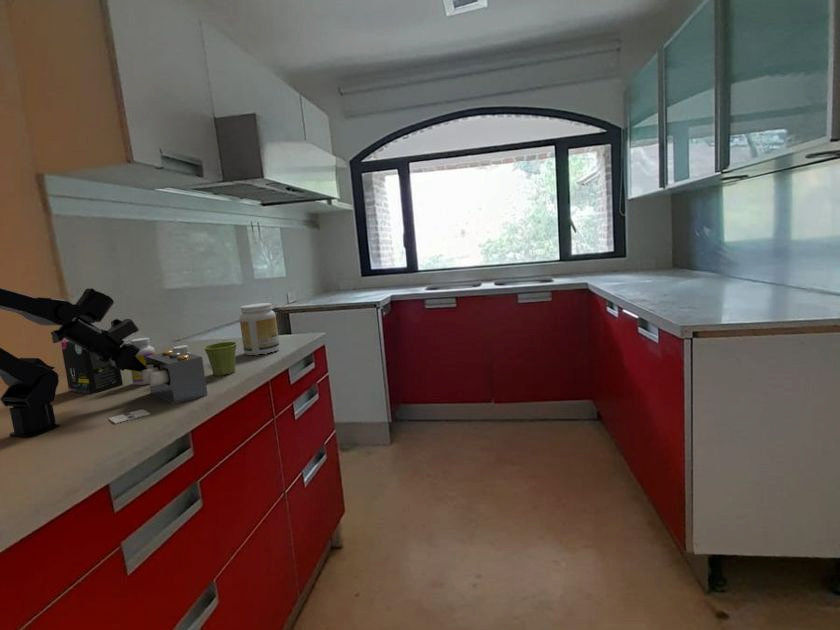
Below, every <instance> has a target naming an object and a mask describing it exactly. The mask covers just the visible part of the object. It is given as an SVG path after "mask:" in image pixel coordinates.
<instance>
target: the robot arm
mask: <svg viewBox="0 0 840 630" xmlns="http://www.w3.org/2000/svg"><path fill="white" fill-rule="evenodd" d="M114 304H115V301H114V300H113V298H112V297H111V296H109V295H106V294H105V293H103V292H100V291H97V290H96V289H94V288H85V290H84V291H83V293H82V295H81V296H80V298H79V299H78V300H77V301H76V303H73V304H72V303H71V302H70V301H69V300H66V299H61V298H60V299H58V298H51V297H38V296H30V295H27V294H24V293H20V292H16V291H13V290H11V289H6V288H3V287H0V310H5V311H7V312H12V313H16V314H18V315H19V316H22V317H23V318H25V319H26V320H28V321H30V322H33V323H35V324H38V325H40V326H59V328H58V329H54V330H52V331H50V335H51V337H52V339H51V340H52V343H53V344H58V343H59V342H60V343H61V341H64V339H65V340H69V341H71V342H72V343H74V344H76V345H78V346H79V347H81V348H82V349H84V350H86V351H88V352H90V353H92V354H94V355H95V356H96V358H97V359H98V360H100V361H102V362H104V363H106V362H108V361H109V360H110V361H111V366H114V367H116V368H118V369H120V371H121V372H122V371H124V370H125V371H126V370H127V371H131V370H133V371H139V372H141V371H142V370H147V369H148V368H147V367H146V366H145V365H143V364H142V363H141V362H140V361H139V360H138V359H137V358H136V357H135V356H136V355H137V353H138V352H139V351H140V348H138V347H136V346H135V345H133V344H131V343H125V340H124V339H126V338H128V337H129V336H131V335H132V334H136V333H137V332H138V331H140V328H139V327H138V326H137V325H136V323H135V322H134V321H133V319H131V318H125V319H123V320H120V319H118V318H115V319H113V320H111V321H110V325H111V327H110V328H109V329H102V328H101V329H100V328H99V327H97V326H96V325H94V323H101V322H102V321H103V319H104V318H105V316H106V315H107V313H108V312H109V311H110V310H111V308H112V306H113V305H114ZM54 369H55V366H50V365H49V364H47V363H46V362H44V361H43V360H42V359H40V358H39V357H19V358H18V357H17V356H15V355H14V354H12V353H11V352H9V351H6V350H5V349H3V348H1V347H0V378H1V379H2V381H3V382H4V385H6V386H8V387H7V389H6V390H5V392H4V393H3V394H2V396H1V397H0V401H1V404H3V406H4V407H10V408H9V413H10V418H11V424H12V428H13V429H12V430H13V431H11V432H10V433H9V434H8V435H9V436H10V437H20V438H21V437H22V438H23V437H25V438H32V437H35V436H37V435H40V434H42V433H45V432H47V431H50V430H53V429H54V428H55V429H56V428H58V427H59V426H61V424H60V423H58V422H57V423H56V415H55V411H54V406H53V404H51V403H53V402H54V401H55V399H56V393H57V392H56V391H57V389H58V386H59V381H60V380H59V377H60V376H59V374H58V373H57V371H55V370H54Z"/></svg>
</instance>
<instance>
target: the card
mask: <svg viewBox="0 0 840 630" xmlns="http://www.w3.org/2000/svg"><path fill="white" fill-rule="evenodd" d="M149 415H151V413H150V412H148V411H147V410H146V409H138V410H135V411H130V412H127V413H123V414H120V415H115V416H113V417H109V418H108V420H109V421H110V422H111V423H113V424H114V423H115V425H116V424H120V422H121V423H124V421H125V422H128V421H130V420H135V419H139V418H141V417H142V416H143V417H146V416H149ZM138 417H139V418H138ZM143 417H142V418H143ZM127 420H128V421H127Z"/></svg>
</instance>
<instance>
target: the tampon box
mask: <svg viewBox="0 0 840 630" xmlns="http://www.w3.org/2000/svg"><path fill="white" fill-rule="evenodd" d="M60 346H61V351H62V357H63V363H64V368H65V375H66V380H67V386H68V387H67V388H68V389H67V390H68V391H69V392H72V391H74V392H73V393H78V392H80V393H79V394H84V393H85V395H93V394H97V393H100V392H102V391H106V390H109V389H113V388H116V387H120V386H124V384H123V383H124V382H123V377H122V373H121V372H122V370H120V369H118V368H116V367H114V366H111V361H110V360H109V361H108V362H106V363H104V362H102V361H100V360H98V359H97V358H96V356H95V355H94V354H92V353H90V352H88V351H86V350H84V349H82V348H81V347H79V346H78V345H76V344H74V343H72V342H71V341H69V340H67V339H65V340H62V341H60ZM92 393H93V394H92Z"/></svg>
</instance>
